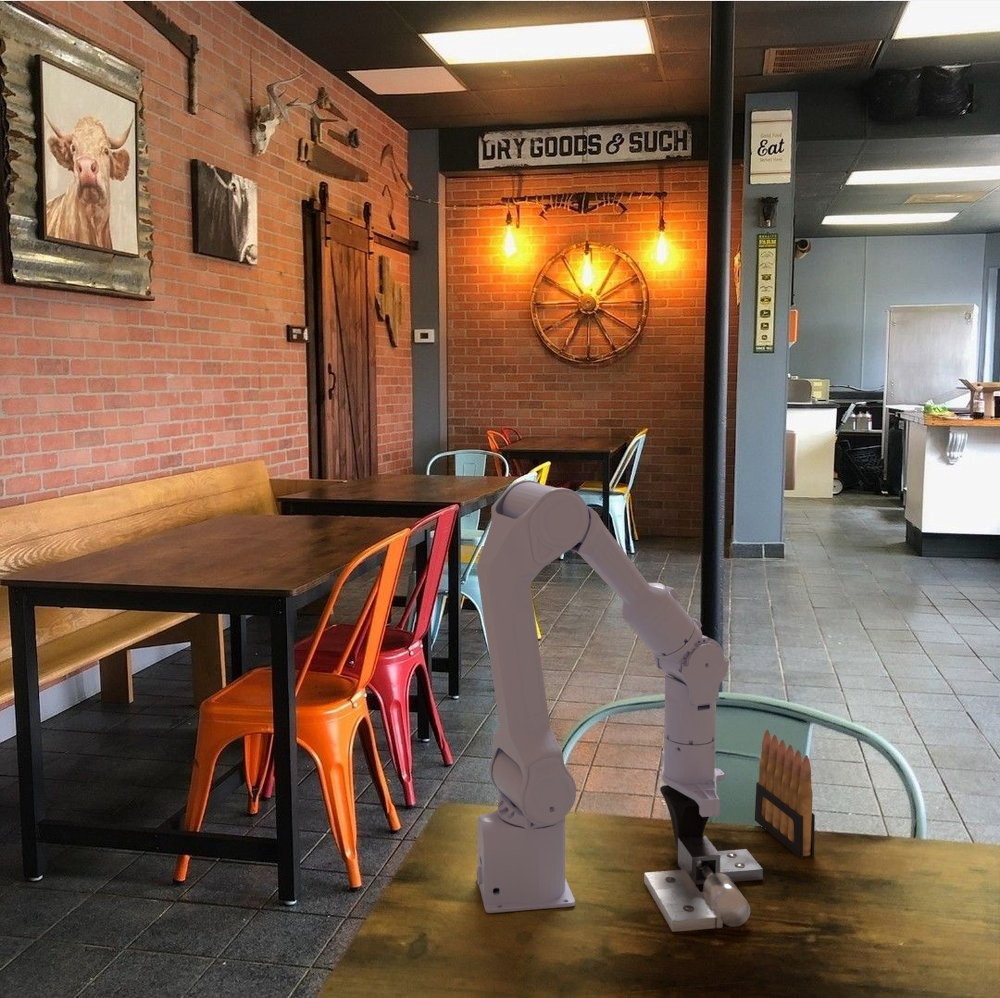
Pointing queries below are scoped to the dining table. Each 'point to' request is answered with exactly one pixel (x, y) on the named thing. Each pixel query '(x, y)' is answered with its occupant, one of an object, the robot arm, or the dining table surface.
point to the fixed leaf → (697, 900)
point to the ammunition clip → (785, 796)
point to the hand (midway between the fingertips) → (687, 850)
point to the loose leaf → (715, 860)
